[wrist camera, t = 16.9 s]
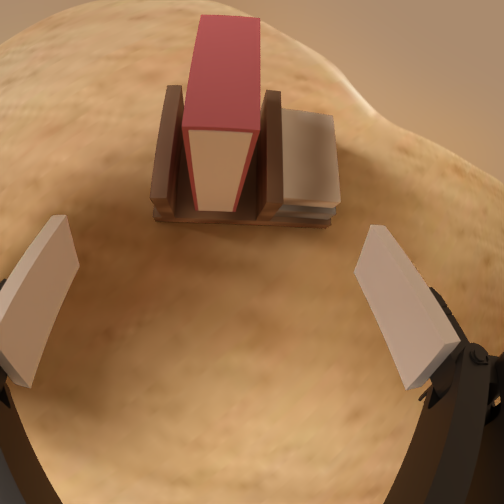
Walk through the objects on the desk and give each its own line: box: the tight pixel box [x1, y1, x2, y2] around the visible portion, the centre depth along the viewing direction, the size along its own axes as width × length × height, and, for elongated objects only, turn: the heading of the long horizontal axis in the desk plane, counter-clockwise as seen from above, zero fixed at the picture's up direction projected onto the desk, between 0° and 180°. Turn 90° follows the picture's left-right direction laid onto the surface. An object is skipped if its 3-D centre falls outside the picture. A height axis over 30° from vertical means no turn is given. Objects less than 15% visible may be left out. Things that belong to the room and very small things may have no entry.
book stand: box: [150, 85, 341, 229], centre depth 25 cm, size 16×10×7 cm, turn 89°
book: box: [182, 15, 260, 212], centre depth 20 cm, size 4×9×14 cm, turn 179°
